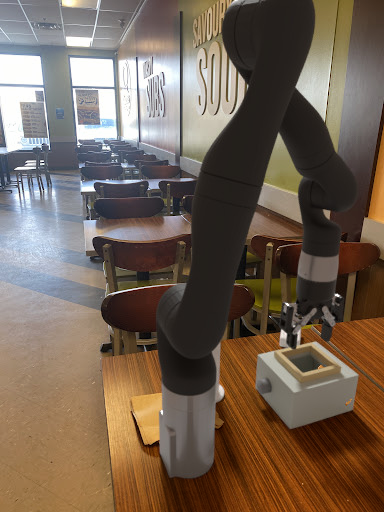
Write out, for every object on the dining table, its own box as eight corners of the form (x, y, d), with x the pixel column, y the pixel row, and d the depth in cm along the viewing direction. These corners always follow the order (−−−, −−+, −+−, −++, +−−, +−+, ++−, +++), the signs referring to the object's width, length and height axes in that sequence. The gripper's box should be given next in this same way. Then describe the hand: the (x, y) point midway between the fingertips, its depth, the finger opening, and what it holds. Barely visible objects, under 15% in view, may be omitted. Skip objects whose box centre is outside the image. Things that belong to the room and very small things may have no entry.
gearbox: (281, 432, 79) (286, 388, 76) (247, 389, 92) (250, 350, 88) (352, 410, 85) (359, 368, 82) (311, 373, 98) (316, 335, 94)
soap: (281, 331, 117) (282, 322, 116) (300, 334, 116) (301, 325, 115) (278, 347, 109) (279, 337, 108) (299, 350, 108) (300, 341, 107)
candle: (219, 407, 86) (223, 303, 78) (189, 399, 88) (189, 298, 80) (227, 387, 92) (231, 289, 84) (198, 381, 94) (200, 285, 86)
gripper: (298, 284, 73) (290, 360, 78) (359, 275, 78) (347, 346, 83) (276, 271, 80) (270, 341, 85) (333, 262, 84) (324, 329, 90)
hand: (308, 343), depth 84 cm, fingers open, 8 cm apart
